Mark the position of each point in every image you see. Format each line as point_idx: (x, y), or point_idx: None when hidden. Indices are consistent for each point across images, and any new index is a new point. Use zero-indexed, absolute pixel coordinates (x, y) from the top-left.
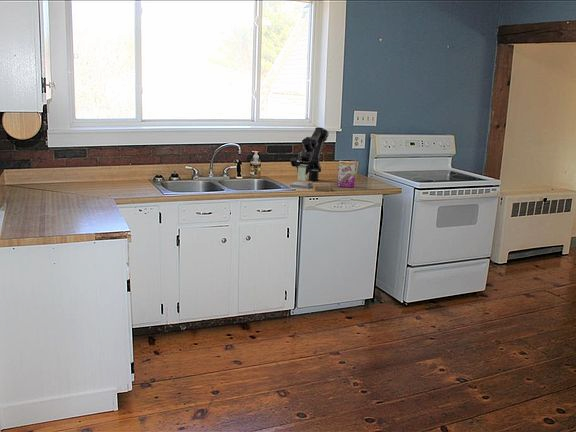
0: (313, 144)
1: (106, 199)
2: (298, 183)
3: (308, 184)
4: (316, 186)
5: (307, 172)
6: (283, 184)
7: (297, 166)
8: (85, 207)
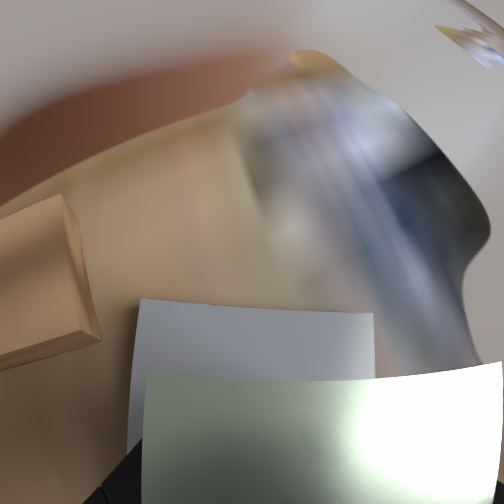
0: None
1: (489, 30)
2: None
3: None
4: (48, 204)
5: None
6: None
7: (502, 491)
8: (456, 3)
